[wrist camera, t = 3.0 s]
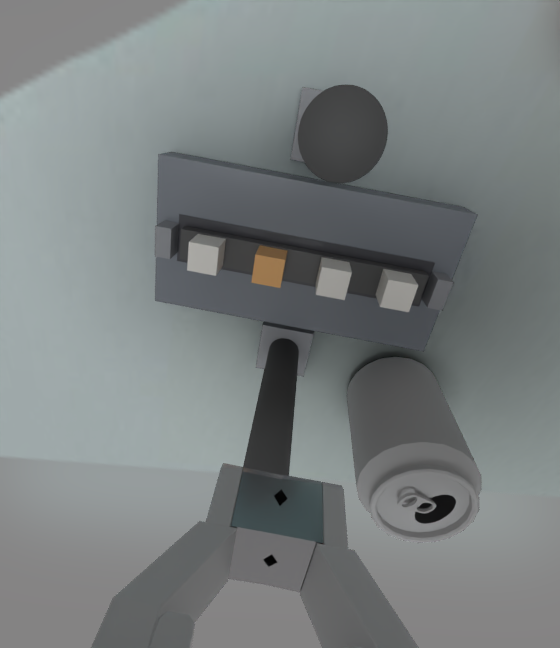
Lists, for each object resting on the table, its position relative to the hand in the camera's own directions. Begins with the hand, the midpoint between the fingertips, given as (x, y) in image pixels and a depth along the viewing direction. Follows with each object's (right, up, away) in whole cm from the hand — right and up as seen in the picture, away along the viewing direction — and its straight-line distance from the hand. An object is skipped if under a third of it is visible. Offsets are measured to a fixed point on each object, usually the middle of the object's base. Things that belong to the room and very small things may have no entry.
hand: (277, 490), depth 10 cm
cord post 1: (0, +2, +22) cm, 23 cm away
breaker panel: (+2, +9, +19) cm, 21 cm away
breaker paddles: (+2, +8, +16) cm, 18 cm away
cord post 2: (+3, +16, +15) cm, 23 cm away
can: (+10, -1, +24) cm, 26 cm away
